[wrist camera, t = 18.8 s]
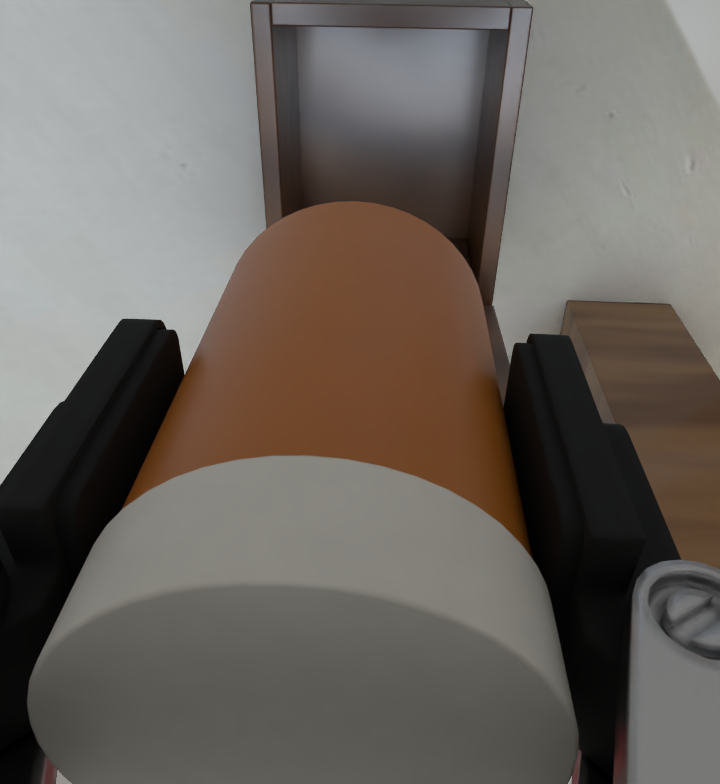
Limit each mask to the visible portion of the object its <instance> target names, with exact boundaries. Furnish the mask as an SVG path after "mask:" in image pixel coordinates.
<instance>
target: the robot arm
mask: <svg viewBox="0 0 720 784" xmlns="http://www.w3.org/2000/svg"><path fill="white" fill-rule="evenodd" d="M184 376H185V375H184V369H183V363H182V358H181V352H180V346H179V340H178V336H177V333H176V331H174V330H166V327H165V325H164V323H163V322H162V321H161V320H147V319H122V320H121V321H120V322H119V323H118V325H117V326H116V328H115V329H114V330H113V332H112V333H111V335H110V336H109V338H108V339H107V341H106V342H105V343H104V345H103V346H102V348H101V349H100V351H99V352H98V354H97V355H96V356H95V358H94V359H93V361H92V362H91V364H90V365H89V367H88V368H87V369H86V371H85V372H84V374H83V375H82V377H81V378H80V380H79V381H78V382H77V384H76V385H75V387H74V388H73V390H72V391H71V393H70V394H69V395H68V397H67V398H66V400H65V401H63V402H60V403H59V405H58V406H57V407H56V408H55V409H54V410H53V411H52V413H51V414H50V416H49V417H48V418H47V420H46V421H45V423H44V424H43V426H42V427H41V428H40V430H39V431H38V433H37V434H36V436H35V437H34V438H33V440H32V441H31V443H30V444H29V445H28V447H27V448H26V450H25V451H24V453H23V454H22V455H21V457H20V458H19V460H18V461H17V463H16V464H15V465H14V467H13V468H12V470H11V471H10V473H9V474H8V475H7V477H6V478H5V480H4V481H3V482H2V484H1V485H0V784H56V777H57V768H56V767H55V766H54V765H53V764H52V762H51V761H50V760H49V759H48V758H47V756H46V755H45V753H44V751H43V750H42V748H41V747H40V745H39V744H38V742H37V740H36V737H35V735H34V732H33V730H32V727H31V725H30V721H29V714H28V707H27V696H28V687H29V680H30V677H31V675H32V672H33V669H34V667H35V664H36V662H37V660H38V658H39V655H40V653H41V651H42V649H43V647H44V645H45V643H46V641H47V639H48V637H49V635H50V633H51V631H52V629H53V627H54V625H55V623H56V621H57V619H58V617H59V614H60V612H61V610H62V608H63V606H64V604H65V602H66V600H67V598H68V596H69V594H70V592H71V590H72V588H73V586H74V584H75V582H76V580H77V578H78V576H79V573H80V571H81V569H82V567H83V565H84V563H85V561H86V559H87V557H88V555H89V553H90V551H91V549H92V547H93V545H94V543H95V542H96V540H97V539H98V537H99V536H100V534H101V533H102V531H103V530H104V528H105V527H106V525H107V524H108V523H109V522H110V521H111V520H112V519H113V518H114V517H115V516H116V515H117V514H118V513H119V512H120V511H121V510H122V508H123V506H124V503H125V501H126V499H127V497H128V495H129V493H130V491H131V489H132V486H133V484H134V482H135V480H136V478H137V476H138V474H139V471H140V469H141V467H142V465H143V463H144V461H145V459H146V457H147V454H148V452H149V450H150V448H151V446H152V444H153V442H154V440H155V437H156V435H157V433H158V431H159V429H160V427H161V425H162V423H163V420H164V418H165V416H166V414H167V412H168V410H169V408H170V406H171V403H172V401H173V399H174V397H175V395H176V393H177V391H178V389H179V386H180V384H181V382H182V380H183V378H184ZM503 410H504V415H505V420H506V425H507V430H508V435H509V440H510V445H511V450H512V455H513V461H514V466H515V471H516V476H517V481H518V486H519V491H520V496H521V501H522V507H523V512H524V517H525V522H526V527H527V532H528V537H529V542H530V547H531V553H532V558H533V561H534V562H535V563H536V565H537V566H538V568H539V570H540V572H541V575H542V577H543V579H544V581H545V583H546V585H547V588H548V592H549V596H550V599H551V603H552V607H553V612H554V617H555V622H556V626H557V631H558V636H559V641H560V645H561V650H562V655H563V660H564V664H565V669H566V674H567V679H568V683H569V688H570V693H571V698H572V702H573V707H574V712H575V717H576V721H577V726H578V731H579V752H578V756H577V760H576V764H575V768H574V772H573V775H572V784H720V569H718V568H715V567H712V566H710V565H707V564H704V563H701V562H694V561H687V560H681V557H680V555H679V553H678V550H677V548H676V545H675V543H674V541H673V538H672V536H671V534H670V531H669V529H668V526H667V524H666V522H665V519H664V517H663V514H662V512H661V510H660V507H659V505H658V503H657V500H656V498H655V495H654V493H653V491H652V488H651V486H650V483H649V481H648V479H647V476H646V474H645V471H644V469H643V467H642V464H641V462H640V460H639V457H638V455H637V452H636V450H635V448H634V445H633V443H632V440H631V438H630V436H629V433H628V432H627V430H626V428H625V427H624V426H623V425H621V424H613V423H603V422H602V420H601V417H600V414H599V412H598V409H597V407H596V404H595V401H594V399H593V396H592V393H591V391H590V388H589V385H588V383H587V380H586V377H585V375H584V372H583V369H582V367H581V364H580V361H579V359H578V356H577V353H576V351H575V348H574V346H573V343H572V340H571V338H570V336H568V335H548V334H530V335H529V337H528V339H527V343H515V345H514V348H513V352H512V358H511V364H510V370H509V376H508V382H507V388H506V394H505V400H504V406H503Z"/></svg>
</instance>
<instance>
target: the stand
mask: <svg viewBox="0 0 720 784" xmlns="http://www.w3.org/2000/svg"><path fill="white" fill-rule="evenodd" d="M560 335H568V336H570V338H571V340H572V343H573V346H574V348H575V351H576V353H577V356H578V359H579V361H580V364H581V367H582V369H583V372H584V375H585V377H586V380H587V383H588V385H589V388H590V391H591V393H592V396H593V399H594V401H595V404H596V407H597V409H598V412H599V414H600V417H601V420H602V422H603V423H613V424H621V425H623V426H624V427H625V428H626V430H627V432H628V433H629V436H630V438H631V440H632V443H633V445H634V448H635V450H636V452H637V455H638V457H639V460H640V462H641V464H642V467H643V469H644V471H645V474H646V476H647V479H648V481H649V483H650V486H651V488H652V491H653V493H654V495H655V498H656V500H657V503H658V505H659V507H660V510H661V512H662V514H663V517H664V519H665V522H666V524H667V526H668V529H669V531H670V534H671V536H672V538H673V541H674V543H675V545H676V548H677V550H678V553H679V555H680V557H681V560H687V561H694V562H701V563H704V564H707V565H710V566H712V567H715V568H718V569H720V380H719V378H718V377H717V375H716V374H715V372H714V371H713V369H712V368H711V366H710V365H709V363H708V361H707V360H706V358H705V357H704V355H703V354H702V352H701V351H700V349H699V348H698V346H697V345H696V343H695V341H694V340H693V338H692V337H691V335H690V334H689V332H688V331H687V329H686V328H685V326H684V325H683V323H682V322H681V320H680V318H679V317H678V315H677V314H676V312H675V311H674V309H673V308H672V306H671V305H665V304H638V303H611V302H584V301H567V305H566V310H565V314H564V319H563V324H562V329H561V333H560Z"/></svg>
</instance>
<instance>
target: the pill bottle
mask: <svg viewBox="0 0 720 784" xmlns="http://www.w3.org/2000/svg"><path fill="white" fill-rule="evenodd" d="M27 707H28V714H29V721H30V725H31V727H32V730H33V732H34V735H35V737H36V740H37V742H38V744H39V745H40V747H41V748H42V750H43V751H44V753H45V755H46V756H47V758H48V759H49V760H50V761H51V762H52V764H53V765H54V766H55V767H56V768H57V769H58V770H59V772H60V773H61V774H62V775H63V776H64V777H65V778H67V779H68V780H69V781H70V782H71V783H72V784H568V782H569V780H570V778H571V776H572V775H573V772H574V768H575V764H576V760H577V756H578V752H579V731H578V726H577V721H576V717H575V712H574V707H573V702H572V698H571V693H570V688H569V683H568V679H567V674H566V669H565V664H564V660H563V655H562V650H561V645H560V641H559V636H558V631H557V626H556V622H555V617H554V612H553V607H552V603H551V599H550V596H549V592H548V588H547V585H546V583H545V581H544V579H543V577H542V575H541V572H540V570H539V568H538V566H537V565H536V563H535V562H534V561H533V558H532V553H531V547H530V542H529V537H528V532H527V527H526V522H525V517H524V512H523V507H522V501H521V496H520V491H519V486H518V481H517V476H516V471H515V466H514V461H513V455H512V450H511V445H510V440H509V435H508V430H507V425H506V420H505V415H504V410H503V404H502V399H501V394H500V389H499V384H498V379H497V374H496V369H495V364H494V358H493V353H492V348H491V343H490V338H489V333H488V328H487V323H486V318H485V312H484V307H483V302H482V298H481V294H480V290H479V286H478V284H477V281H476V279H475V277H474V274H473V272H472V270H471V268H470V267H469V265H468V263H467V262H466V260H465V258H464V257H463V256H462V254H461V253H460V252H459V251H458V250H457V248H456V247H455V246H454V245H453V244H452V243H451V242H450V241H449V240H448V239H447V238H446V237H445V236H444V235H443V234H442V233H441V232H439V231H438V230H436V229H435V228H433V227H432V226H431V225H429V224H428V223H426V222H425V221H423V220H421V219H419V218H417V217H415V216H413V215H411V214H409V213H407V212H404V211H401V210H398V209H396V208H393V207H389V206H385V205H380V204H376V203H369V202H358V201H344V202H331V203H325V204H319V205H315V206H312V207H309V208H305V209H302V210H299V211H297V212H295V213H293V214H290V215H288V216H286V217H284V218H282V219H281V220H279V221H278V222H276V223H274V224H273V225H271V226H270V227H268V228H267V229H266V230H265V231H264V232H263V233H261V234H260V235H259V236H258V237H257V238H256V239H255V240H254V241H253V242H252V243H251V245H250V246H249V247H248V248H247V249H246V250H245V252H244V254H243V255H242V257H241V258H240V260H239V262H238V263H237V265H236V267H235V269H234V271H233V274H232V276H231V278H230V280H229V282H228V284H227V286H226V288H225V291H224V293H223V295H222V297H221V299H220V301H219V303H218V306H217V308H216V310H215V312H214V314H213V316H212V318H211V320H210V323H209V325H208V327H207V329H206V331H205V333H204V335H203V337H202V340H201V342H200V344H199V346H198V348H197V350H196V352H195V354H194V357H193V359H192V361H191V363H190V365H189V367H188V369H187V371H186V374H185V376H184V378H183V380H182V382H181V384H180V386H179V389H178V391H177V393H176V395H175V397H174V399H173V401H172V403H171V406H170V408H169V410H168V412H167V414H166V416H165V418H164V420H163V423H162V425H161V427H160V429H159V431H158V433H157V435H156V437H155V440H154V442H153V444H152V446H151V448H150V450H149V452H148V454H147V457H146V459H145V461H144V463H143V465H142V467H141V469H140V471H139V474H138V476H137V478H136V480H135V482H134V484H133V486H132V489H131V491H130V493H129V495H128V497H127V499H126V501H125V503H124V506H123V508H122V510H121V511H120V512H119V513H118V514H117V515H116V516H115V517H114V518H113V519H112V520H111V521H110V522H109V523H108V524H107V525H106V527H105V528H104V530H103V531H102V533H101V534H100V536H99V537H98V539H97V540H96V542H95V543H94V545H93V547H92V549H91V551H90V553H89V555H88V557H87V559H86V561H85V563H84V565H83V567H82V569H81V571H80V573H79V576H78V578H77V580H76V582H75V584H74V586H73V588H72V590H71V592H70V594H69V596H68V598H67V600H66V602H65V604H64V606H63V608H62V610H61V612H60V614H59V617H58V619H57V621H56V623H55V625H54V627H53V629H52V631H51V633H50V635H49V637H48V639H47V641H46V643H45V645H44V647H43V649H42V651H41V653H40V655H39V658H38V660H37V662H36V664H35V667H34V669H33V672H32V675H31V677H30V680H29V687H28V696H27Z"/></svg>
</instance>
